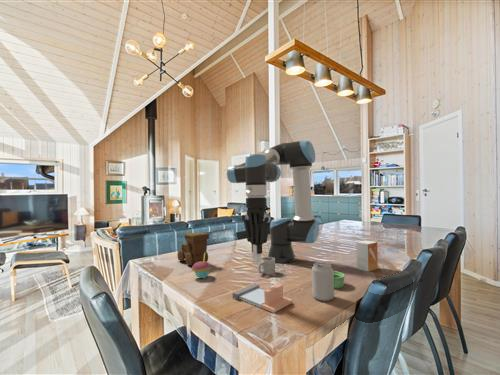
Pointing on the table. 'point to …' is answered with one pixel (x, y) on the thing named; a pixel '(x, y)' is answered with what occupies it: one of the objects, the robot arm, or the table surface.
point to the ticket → (251, 295)
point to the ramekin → (338, 279)
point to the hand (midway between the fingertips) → (257, 262)
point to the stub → (275, 299)
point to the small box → (366, 255)
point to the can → (322, 281)
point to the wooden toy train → (194, 248)
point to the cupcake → (201, 268)
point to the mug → (267, 266)
